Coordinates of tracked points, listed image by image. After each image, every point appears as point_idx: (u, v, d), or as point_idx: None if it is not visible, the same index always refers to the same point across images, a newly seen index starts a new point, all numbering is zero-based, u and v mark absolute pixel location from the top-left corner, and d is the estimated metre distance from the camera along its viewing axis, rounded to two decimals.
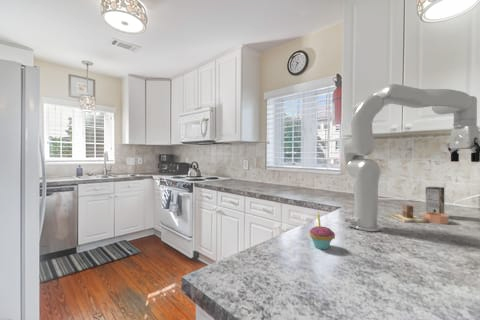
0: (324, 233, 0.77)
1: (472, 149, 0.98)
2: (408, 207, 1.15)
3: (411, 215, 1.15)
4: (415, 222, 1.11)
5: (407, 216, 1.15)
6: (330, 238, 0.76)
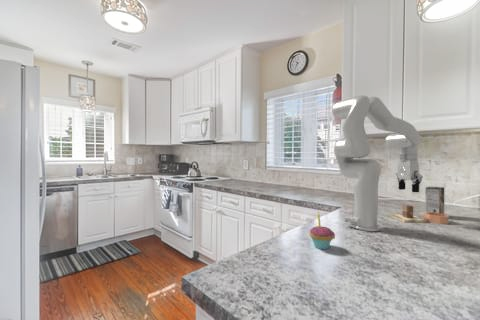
0: (324, 233, 0.77)
1: (412, 181, 1.12)
2: (408, 207, 1.15)
3: (411, 215, 1.15)
4: (415, 222, 1.11)
5: (407, 216, 1.15)
6: (330, 238, 0.76)
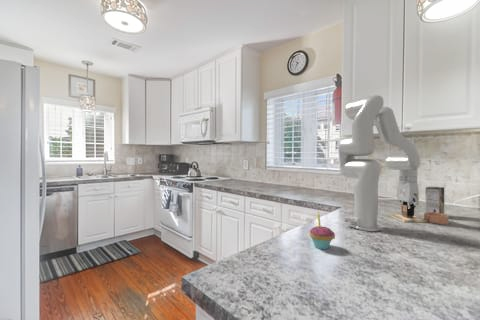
0: (324, 233, 0.77)
1: (408, 204, 1.14)
2: None
3: None
4: (415, 222, 1.11)
5: (407, 216, 1.15)
6: (330, 238, 0.76)
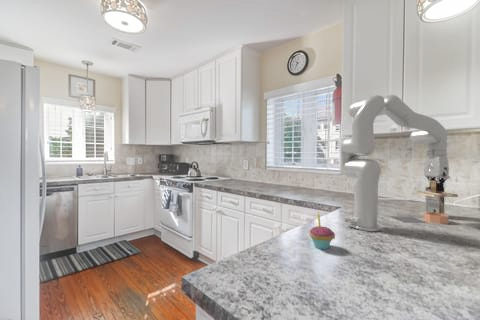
0: (324, 233, 0.77)
1: (438, 179, 1.11)
2: None
3: None
4: (415, 222, 1.11)
5: (436, 191, 1.12)
6: (330, 238, 0.76)
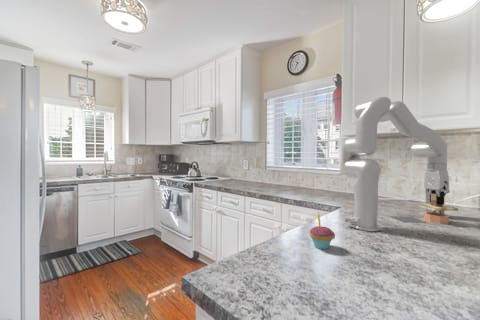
0: (324, 233, 0.77)
1: (438, 193, 1.11)
2: (437, 195, 1.12)
3: (440, 204, 1.12)
4: (415, 222, 1.11)
5: (436, 205, 1.12)
6: (330, 238, 0.76)
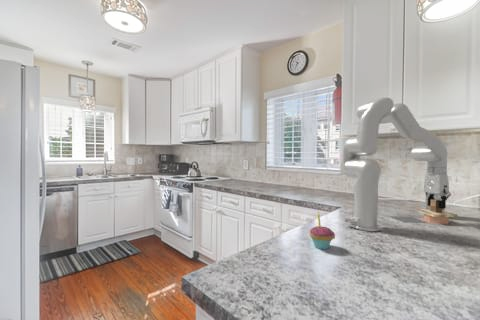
0: (324, 233, 0.77)
1: (439, 197, 1.10)
2: (437, 201, 1.12)
3: (440, 210, 1.12)
4: (415, 222, 1.11)
5: (436, 211, 1.12)
6: (330, 238, 0.76)
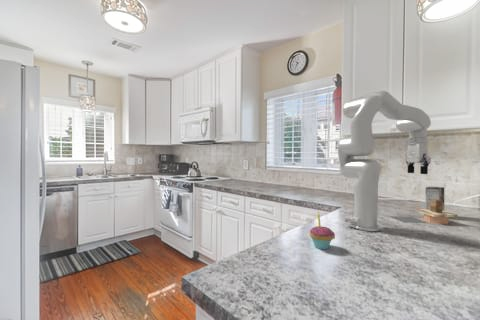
0: (324, 233, 0.77)
1: (421, 163, 1.16)
2: (437, 201, 1.12)
3: (440, 210, 1.12)
4: (415, 222, 1.11)
5: (436, 211, 1.12)
6: (330, 238, 0.76)
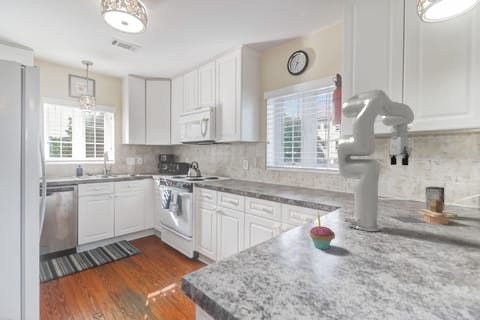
0: (324, 233, 0.77)
1: (402, 155, 1.25)
2: (437, 201, 1.12)
3: (440, 210, 1.12)
4: (415, 222, 1.11)
5: (436, 211, 1.12)
6: (330, 238, 0.76)
